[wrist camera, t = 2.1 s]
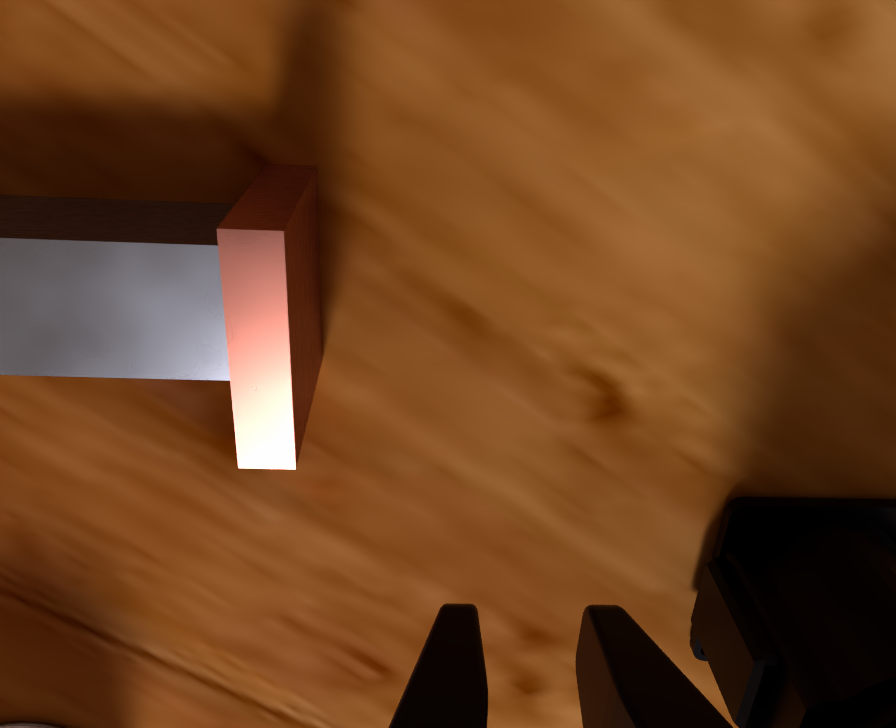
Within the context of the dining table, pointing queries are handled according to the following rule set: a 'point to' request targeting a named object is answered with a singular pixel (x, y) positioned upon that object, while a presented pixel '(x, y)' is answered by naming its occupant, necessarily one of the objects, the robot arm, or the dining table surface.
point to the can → (27, 725)
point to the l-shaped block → (175, 298)
